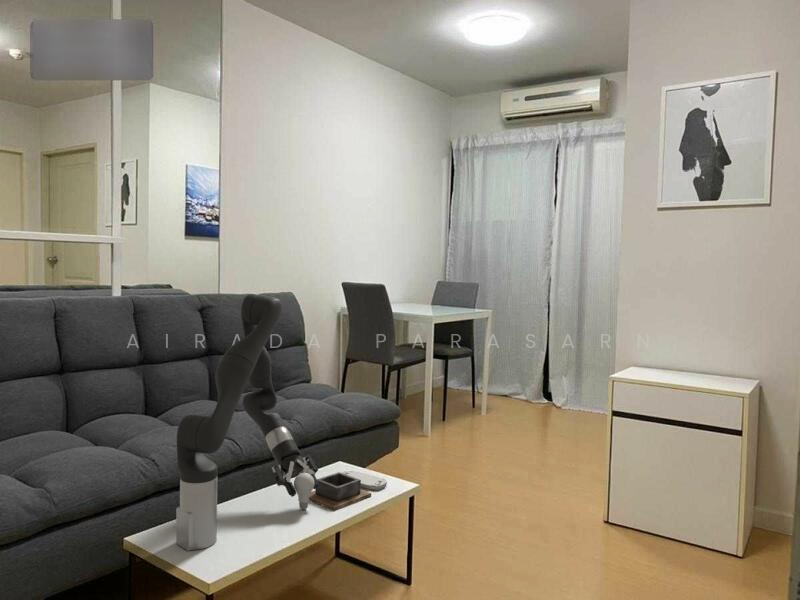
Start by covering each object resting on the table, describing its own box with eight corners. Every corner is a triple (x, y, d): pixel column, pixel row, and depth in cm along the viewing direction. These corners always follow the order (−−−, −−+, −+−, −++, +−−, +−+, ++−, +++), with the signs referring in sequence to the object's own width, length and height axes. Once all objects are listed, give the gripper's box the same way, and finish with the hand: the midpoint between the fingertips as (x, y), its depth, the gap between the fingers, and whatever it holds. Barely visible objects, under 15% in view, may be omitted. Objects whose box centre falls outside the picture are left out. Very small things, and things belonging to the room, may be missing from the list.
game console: (390, 478, 205) (377, 485, 197) (390, 485, 205) (377, 493, 198) (347, 468, 214) (333, 474, 207) (346, 475, 214) (332, 481, 207)
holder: (334, 510, 182) (334, 492, 182) (303, 497, 191) (304, 480, 191) (371, 496, 194) (371, 479, 194) (340, 484, 203) (341, 468, 203)
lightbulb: (288, 510, 181) (289, 474, 180) (301, 503, 186) (302, 468, 185) (305, 515, 178) (306, 478, 177) (317, 508, 183) (318, 472, 183)
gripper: (268, 443, 181) (292, 491, 174) (305, 434, 191) (329, 479, 185) (257, 456, 184) (280, 504, 178) (294, 446, 195) (317, 491, 188)
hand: (305, 491), depth 181 cm, fingers open, 8 cm apart
